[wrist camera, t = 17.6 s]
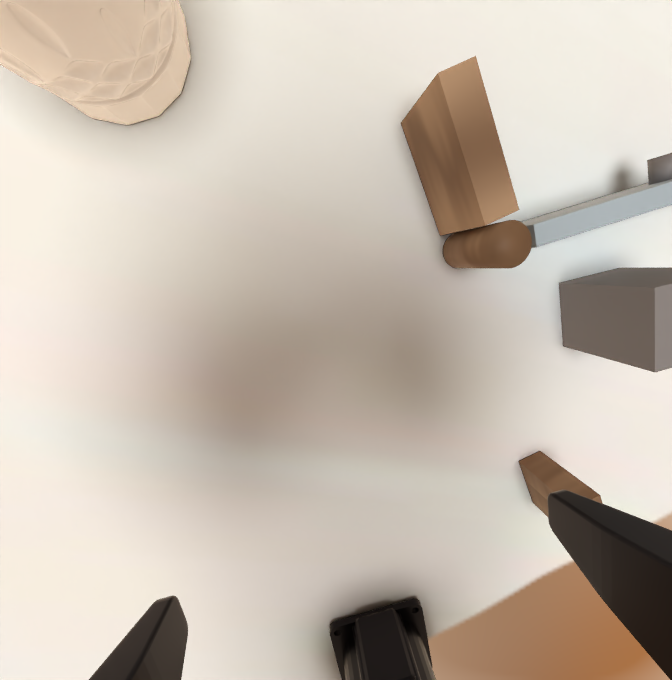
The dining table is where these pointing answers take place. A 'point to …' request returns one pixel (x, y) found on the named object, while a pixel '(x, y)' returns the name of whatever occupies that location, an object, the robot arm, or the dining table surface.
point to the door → (607, 207)
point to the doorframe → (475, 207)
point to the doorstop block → (620, 316)
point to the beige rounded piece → (99, 53)
